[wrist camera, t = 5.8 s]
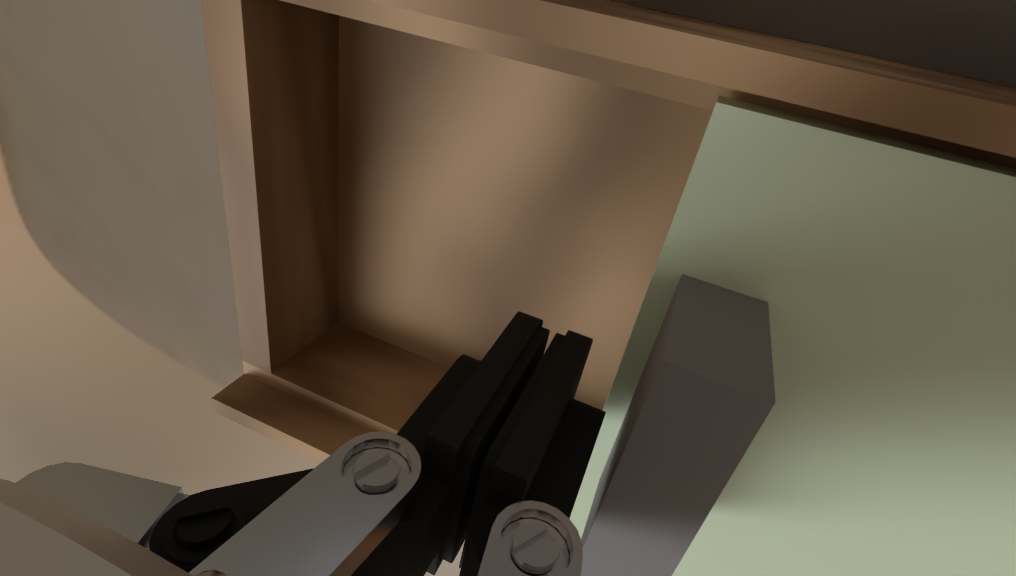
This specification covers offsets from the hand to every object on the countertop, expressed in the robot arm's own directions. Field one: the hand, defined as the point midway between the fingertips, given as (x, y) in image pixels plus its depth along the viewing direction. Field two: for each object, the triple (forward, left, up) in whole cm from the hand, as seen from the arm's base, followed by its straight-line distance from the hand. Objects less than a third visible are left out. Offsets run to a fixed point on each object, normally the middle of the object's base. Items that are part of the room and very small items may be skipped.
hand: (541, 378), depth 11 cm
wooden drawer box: (+2, 0, -6) cm, 6 cm away
